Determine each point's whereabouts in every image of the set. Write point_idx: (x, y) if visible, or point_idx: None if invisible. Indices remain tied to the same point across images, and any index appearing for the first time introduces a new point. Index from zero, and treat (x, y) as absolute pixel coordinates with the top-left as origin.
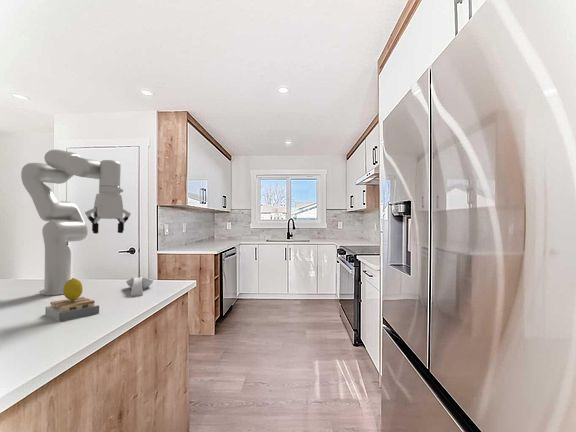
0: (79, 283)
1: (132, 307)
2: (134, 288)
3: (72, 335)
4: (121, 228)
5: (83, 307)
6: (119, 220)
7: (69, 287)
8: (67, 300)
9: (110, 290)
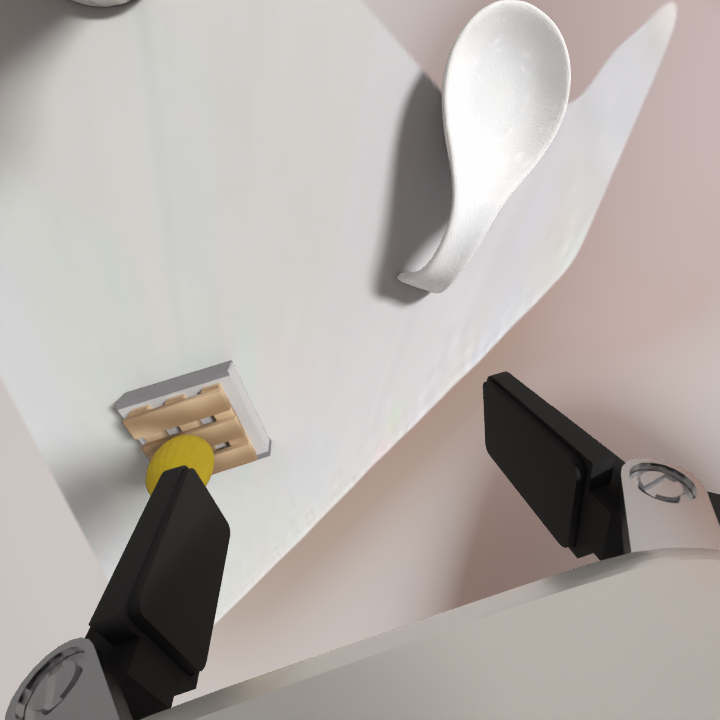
0: None
1: (357, 425)
2: (417, 283)
3: None
4: (521, 489)
5: None
6: (647, 537)
7: None
8: (175, 423)
9: (358, 70)
